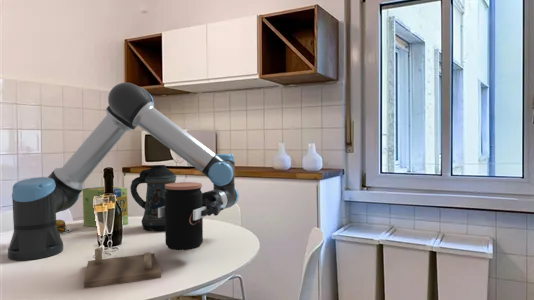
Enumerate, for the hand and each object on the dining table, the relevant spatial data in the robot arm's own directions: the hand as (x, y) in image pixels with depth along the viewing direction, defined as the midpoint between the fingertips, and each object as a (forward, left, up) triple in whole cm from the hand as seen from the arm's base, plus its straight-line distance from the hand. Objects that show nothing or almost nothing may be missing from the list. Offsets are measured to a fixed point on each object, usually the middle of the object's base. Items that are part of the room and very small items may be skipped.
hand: (176, 214), depth 111 cm
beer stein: (+1, +50, -15) cm, 52 cm away
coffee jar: (+3, +3, -10) cm, 11 cm away
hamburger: (-37, +60, -15) cm, 72 cm away
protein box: (-19, +66, -15) cm, 71 cm away
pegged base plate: (-14, 0, -14) cm, 20 cm away
